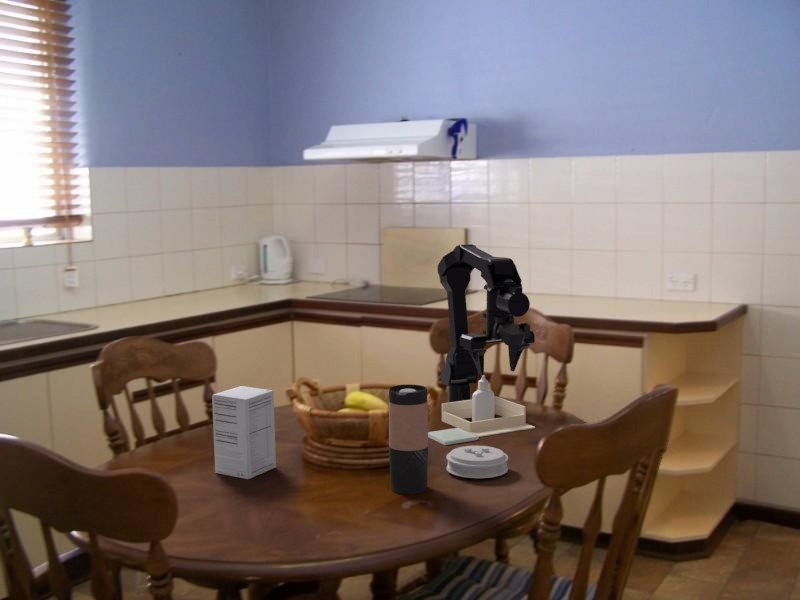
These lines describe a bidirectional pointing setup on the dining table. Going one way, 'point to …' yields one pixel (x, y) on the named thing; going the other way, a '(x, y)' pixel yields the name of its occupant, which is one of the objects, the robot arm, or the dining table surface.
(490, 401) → the eye dropper bottle
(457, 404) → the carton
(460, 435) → the coaster
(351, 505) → the dining table surface
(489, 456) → the lid
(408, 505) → the dining table surface
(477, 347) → the robot arm
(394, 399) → the travel mug
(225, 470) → the supplement box
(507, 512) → the dining table surface
